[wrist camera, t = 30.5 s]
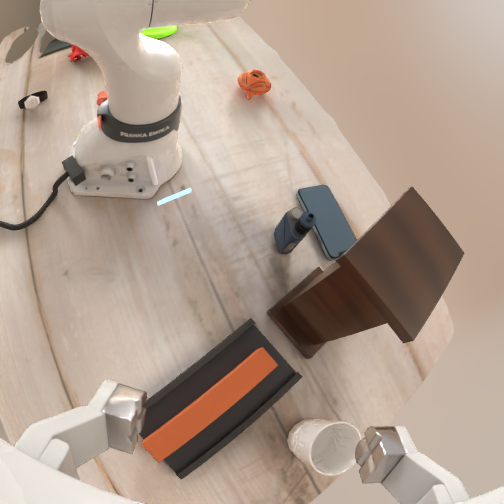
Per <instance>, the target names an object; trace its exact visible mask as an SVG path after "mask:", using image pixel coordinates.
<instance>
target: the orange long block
mask: <svg viewBox="0 0 504 504" xmlns="http://www.w3.org/2000/svg"><path fill="white" fill-rule="evenodd" d="M277 366H278V364H277V363H276V362H275V361H274V360H273V359H272V357H271V356H270V355H269V354H268V353H267V352H266V351H265V349H264V348H263V347H262V348H259V349H257V350H255V351H254V352H253V353H252V354H251V355H250V356H248V357H247V358H246V359H245V360H244V361H243V362H241V363H240V364H239V365H238V366H237V367H236V368H234V369H233V370H232V371H231V372H230V373H228V374H227V375H226V376H225V377H224V378H222V379H221V380H220V381H219V382H218V383H216V384H215V385H214V386H213V387H211V388H210V389H209V390H208V391H206V392H205V393H204V394H203V395H202V396H200V397H199V398H198V399H196V400H195V401H194V402H193V403H191V404H190V405H189V406H188V407H186V408H185V409H184V410H182V411H181V412H180V413H179V414H177V415H176V416H175V417H173V418H172V419H171V420H169V421H168V422H167V423H165V424H164V425H163V426H161V427H160V428H159V429H157V430H156V431H155V432H153V433H152V434H151V435H149V436H148V437H147V438H145V439H144V440H143V442H142V445H143V446H144V448H145V449H146V450H147V451H148V452H149V453H150V454H151V455H152V456H153V457H154V458H155V459H156V460H157V461H158V462H161V461H162V460H163V459H165V458H166V457H168V456H169V455H170V454H172V453H173V452H174V451H176V450H177V449H178V448H180V447H181V446H182V445H184V444H185V443H186V442H188V441H189V440H190V439H192V438H193V437H194V436H196V435H197V434H198V433H199V432H201V431H202V430H203V429H204V428H206V427H207V426H208V425H209V424H211V423H212V422H213V421H214V420H216V419H217V418H218V417H219V416H221V415H222V414H223V413H224V412H225V411H227V410H228V409H229V408H230V407H231V406H233V405H234V404H235V403H236V402H237V401H239V400H240V399H241V398H242V397H243V396H244V395H246V394H247V393H248V392H249V391H250V390H251V389H252V388H254V387H255V386H256V385H257V384H258V383H259V382H260V381H262V380H263V379H264V378H265V377H266V376H267V375H268V374H269V373H270V372H271V371H273V370H274V369H275V368H276V367H277Z"/></svg>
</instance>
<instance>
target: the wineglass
mask: <svg viewBox="0 0 504 504" xmlns="http://www.w3.org/2000/svg"><path fill="white" fill-rule="evenodd" d="M176 30H177V26H168V27H158V28H149V29H146V30H143V31H141V32H140V33H141V34H143V35H145V36H147V37H150V38H153V39H160V38H164V37H167V36H169V35H172V34H173V33H175V32H176Z"/></svg>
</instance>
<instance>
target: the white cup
mask: <svg viewBox="0 0 504 504" xmlns="http://www.w3.org/2000/svg"><path fill="white" fill-rule="evenodd" d="M360 440H362V438H361V435H360V433H359V431H358V430H357V428H356V427H355V426H353V425H352V424H350V423H347V422H341V421H332V420H321V419H306V420H302V421H300V422H298V423H297V424H295V425H294V426H293V428H292V429H291V430H290V432H289V435H288V439H287V443H288V446H289V450H290V451H291V452H292V453H293V454H294V455H295V456H297V457H298V458H299V459H300V460H301V461H303V462H304V463H305V464H307V465H308V466H310V467H311V468H313V469H314V470H315V471H317V472H318V473H320V474H322V475H326V476H335V475H339V474H342V473H344V472H346V471H347V470H348V469H350V468H351V467H352V466H353V465H354V464H355V462H356V459H355V450H356V446H357V444H358V443H359V441H360Z"/></svg>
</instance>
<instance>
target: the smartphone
mask: <svg viewBox="0 0 504 504" xmlns="http://www.w3.org/2000/svg"><path fill="white" fill-rule="evenodd" d="M296 195H297V197H298V199H299V201H300V203H301V205H302V207H303V209H304V211H305V212H310V213H313V214H314V216H315V218H316V224H315V225H314V226H313V230H314V232H315V234H316V236H317V238H318V240H319V242H320V244H321V246H322V248H323V250H324V252H325V255H326V257H327V258H328V259H329V260H336V259H338V258H339V257H340V256H341V255H342V254H344V253H345V252H346V251H347V250H348V249H349V248H350V247H351V246H352V245H353V244H354V243H355V242H356V241H357V239H356V237H355V235H354V233H353V232H352V230H351V228H350V226H349V224H348V222H347V220H346V218H345V216H344V214H343V212H342V211H341V209H340V207H339V205H338V203H337V201H336V199H335V198H334V196H333V194H332V192H331V190H330V189H329V187H328V186H326V185H319V186H313V187H308V188H302V189H299V190H298V192H297V194H296Z"/></svg>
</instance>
